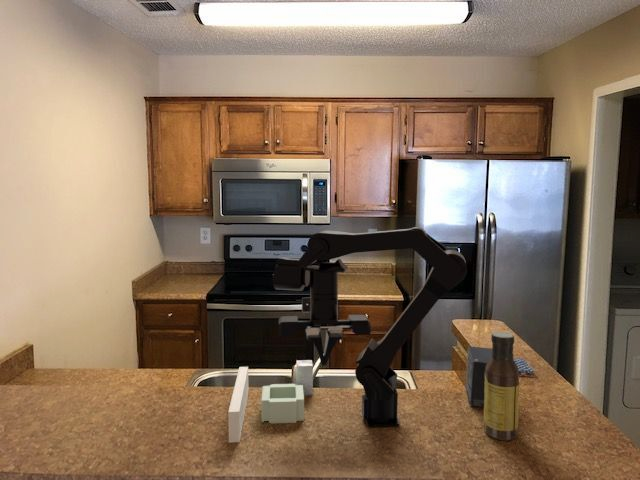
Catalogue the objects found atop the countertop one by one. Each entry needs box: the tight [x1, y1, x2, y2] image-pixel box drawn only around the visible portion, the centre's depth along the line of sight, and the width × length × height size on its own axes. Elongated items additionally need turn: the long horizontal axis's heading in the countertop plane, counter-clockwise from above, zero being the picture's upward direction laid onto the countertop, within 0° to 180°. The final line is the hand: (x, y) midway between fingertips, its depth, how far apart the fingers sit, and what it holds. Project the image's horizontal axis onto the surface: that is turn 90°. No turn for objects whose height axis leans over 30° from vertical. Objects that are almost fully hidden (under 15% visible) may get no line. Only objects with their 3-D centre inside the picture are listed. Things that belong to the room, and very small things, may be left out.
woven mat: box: [513, 356, 537, 378], centre depth 124 cm, size 10×11×2 cm
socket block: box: [260, 383, 305, 424], centre depth 99 cm, size 9×9×4 cm
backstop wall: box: [227, 366, 249, 444], centre depth 98 cm, size 2×22×6 cm, turn 5°
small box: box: [465, 345, 492, 409], centre depth 106 cm, size 11×6×10 cm, turn 168°
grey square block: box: [296, 359, 314, 397], centre depth 109 cm, size 4×4×7 cm
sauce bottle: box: [483, 330, 520, 441], centre depth 90 cm, size 6×6×20 cm
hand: (323, 365), depth 98 cm, fingers closed
